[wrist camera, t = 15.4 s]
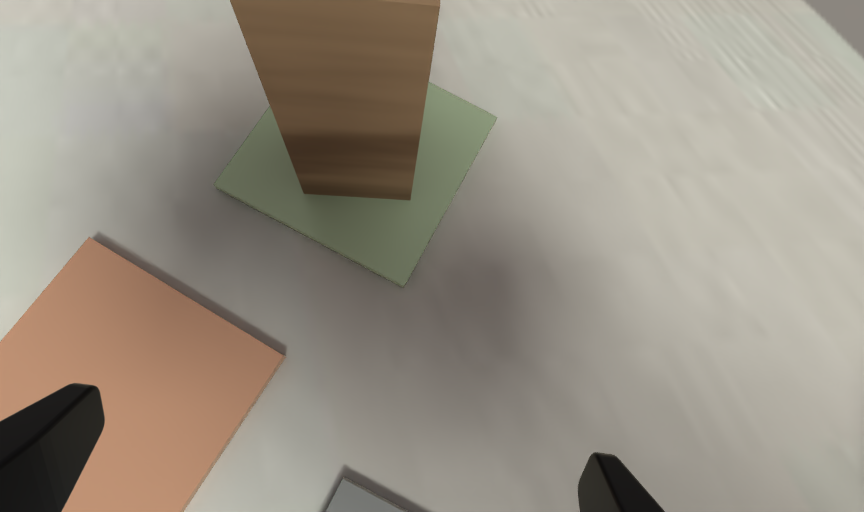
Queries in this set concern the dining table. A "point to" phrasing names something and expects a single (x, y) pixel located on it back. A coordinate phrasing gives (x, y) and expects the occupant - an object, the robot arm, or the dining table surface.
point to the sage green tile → (356, 216)
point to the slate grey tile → (359, 500)
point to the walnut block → (345, 87)
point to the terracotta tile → (136, 378)
